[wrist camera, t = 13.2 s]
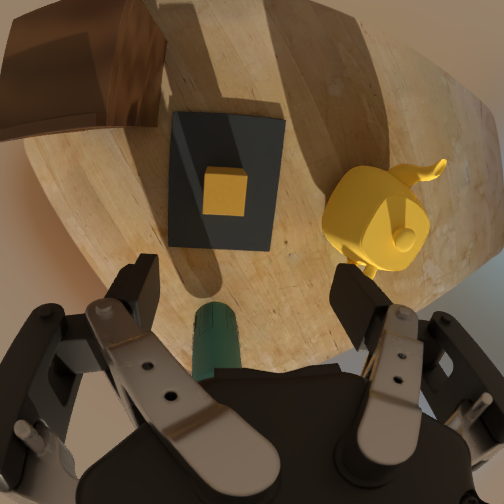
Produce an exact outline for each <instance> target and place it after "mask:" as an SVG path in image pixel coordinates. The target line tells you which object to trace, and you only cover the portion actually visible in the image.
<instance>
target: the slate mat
mask: <svg viewBox="0 0 504 504" xmlns="http://www.w3.org/2000/svg"><path fill="white" fill-rule="evenodd" d="M285 124H286V120H281V119H274V118H266V117H257V116H247V115H236V114H223V113H204V112H173V120H172V133H171V148H170V168H169V200H168V246H169V247H186V248H207V249H228V250H249V251H270V243H271V236H272V228H273V221H274V213H275V206H276V198H277V190H278V182H279V174H280V166H281V158H282V149H283V141H284V132H285ZM207 166H212V167H229V168H243V169H244V171H245V173H246V174H247V176H248V177H247V187H246V197H245V208H244V216H233V215H215V214H203V194H204V177H205V171H206V169H207Z"/></svg>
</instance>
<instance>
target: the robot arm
mask: <svg viewBox="0 0 504 504" xmlns="http://www.w3.org/2000/svg"><path fill="white" fill-rule="evenodd" d="M159 298H160V277H159V258H158V255H157V254H143V253H141V254H140V255H139V257H138V259H137V261H136V263H135V264H128V265H126V266H125V267H123V268H122V269H121V270H120V271H119V273H118V275H117V277H116V278H115V280H114V283H112V285H111V287H110V288H109V290H108V292H107V294H106V295H105V297H104V298H102V299H98V300H96V301H93V302H92V303H90V304H89V305H88V306H87V308H86V311H85V312H86V313H84V314H76V315H67V316H65V312H64V309H63V308H62V306H60V305H58V304H55V303H48V304H44V305H41V306H39V307H37V308H36V309H34V310H33V311H32V313H31V314H30V316H29V317H28V319H27V320H26V322H25V323H24V325H23V326H22V328H21V330H20V331H19V333H18V334H17V336H16V338H15V339H14V341H13V343H12V344H11V346H10V348H9V350H8V351H7V353H6V355H5V356H4V358H3V360H2V362H1V364H0V492H1V493H2V494H4V495H5V496H7V497H8V498H10V499H12V500H13V501H15V502H17V503H19V504H488V503H486V502H484V501H482V500H481V499H480V498H479V497H478V495H477V493H476V491H475V487H474V483H473V477H472V472H473V471H476V470H477V469H478V468H480V467H481V466H482V465H483V464H485V463H486V462H487V461H488V460H490V459H491V458H492V457H493V456H494V455H495V454H497V453H498V452H499V451H500V450H501V449H502V448H503V447H504V377H503V376H502V375H501V373H500V372H499V371H498V369H497V368H496V367H495V365H494V364H493V363H492V362H491V360H490V359H489V358H488V357H487V355H486V354H485V353H484V352H483V350H482V349H481V348H480V347H479V346H478V344H477V343H476V342H475V341H474V339H473V338H472V337H471V336H470V335H469V334H468V333H467V331H466V330H465V329H464V328H463V327H462V326H461V324H460V323H459V322H458V321H457V320H456V319H455V318H454V317H453V316H451V315H450V314H448V313H445V312H442V311H436V312H434V313H433V315H432V317H431V319H430V321H426V320H419V319H418V316H417V314H416V313H415V312H414V311H413V310H412V309H410V308H408V307H406V306H404V305H400V304H393V303H392V302H391V300H390V299H389V298H388V297H387V296H386V295H385V294H384V292H382V290H381V289H380V288H379V287H377V284H376V283H375V282H374V281H373V280H372V279H371V278H369V277H367V276H366V275H364V274H363V272H362V271H361V270H360V269H359V268H358V267H357V266H356V265H355V264H346V263H339V264H338V265H337V268H336V271H335V275H334V279H333V283H332V286H331V290H330V295H329V301H330V305H331V307H332V309H333V310H334V312H335V314H336V315H337V317H338V319H339V321H340V322H341V324H342V326H343V328H344V329H345V331H346V333H347V335H348V336H349V338H350V340H351V342H352V344H353V345H354V347H355V349H356V351H357V352H361V351H369V354H368V356H367V358H366V361H365V363H364V366H363V370H362V372H361V375H360V376H358V375H355V374H352V373H347V372H342V371H341V369H340V367H339V365H338V363H334V364H324V365H311V366H307V367H304V368H300V369H296V370H293V371H289V372H285V373H273V372H267V371H261V370H255V369H249V368H214V377H211V378H207V379H203V380H200V381H197V382H196V380H195V379H194V378H193V377H192V376H191V375H190V374H189V373H188V372H187V371H186V370H185V369H184V367H183V366H182V365H181V364H180V363H179V362H178V361H177V360H176V359H175V357H174V356H173V355H172V354H171V353H170V352H169V350H168V349H167V348H166V347H165V346H164V345H163V343H162V342H161V341H160V340H159V339H158V337H157V336H156V335H155V334H154V333H153V332H152V331H151V328H152V324H153V320H154V316H155V313H156V309H157V306H158V302H159ZM445 351H446V353H447V354H448V355H449V357H450V358H451V359H452V361H453V365H454V367H453V371H452V373H451V375H450V376H449V378H448V377H447V375H446V374H445V372H444V371H443V369H442V368H441V366H440V365H439V361H440V360H441V358H442V356H443V354H444V353H445ZM96 371H103V372H104V374H105V376H106V378H107V379H108V381H109V383H110V385H111V387H112V389H113V390H114V392H115V394H116V396H117V397H118V399H119V401H120V402H121V404H122V406H123V407H124V409H125V411H126V413H127V415H128V417H129V419H130V421H131V422H132V424H133V426H134V427H135V429H136V430H135V431H134V432H133V433H131V434H130V435H129V436H128V437H126V438H125V439H124V440H123V441H122V442H120V443H119V444H118V445H117V446H115V447H114V448H113V449H112V450H110V451H109V452H108V453H107V454H106V455H104V456H103V457H102V458H101V459H100V460H98V461H97V462H96V463H94V464H93V465H91V467H89V468H88V469H87V470H86V471H85V472H84V474H83V475H82V476H81V478H80V479H78V478H77V476H76V475H75V462H74V458H73V455H72V454H71V452H70V451H69V450H68V449H67V448H66V446H65V445H64V443H65V438H66V434H67V430H68V426H69V422H70V418H71V414H72V410H73V406H74V403H75V399H76V396H77V392H78V389H79V386H80V382H81V379H82V376H83V373H87V372H96ZM420 389H421V391H422V393H423V395H424V396H425V398H426V400H427V402H428V404H429V405H430V407H431V409H432V411H433V413H434V415H435V417H436V419H437V420H436V419H434V418H432V417H430V416H429V415H427V414H425V413H423V412H422V410H421V408H420V407H419V406H418V402H419V394H420Z"/></svg>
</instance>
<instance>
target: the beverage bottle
mask: <svg viewBox="0 0 504 504" xmlns="http://www.w3.org/2000/svg"><path fill="white" fill-rule="evenodd" d="M234 313H235V312H233V310H232V309H231V308H230V307H229V306H228V305H226V304H224V303H220V302H210V303H207V304H204V305H203V306H201V307H200V308H199V309H198V310H197V313H196V315H194V316H195V323H193V325H194V330H193V331H194V334H193V335H194V338H192V340H193V342H192V344H193V356H192V377H193V378H194V379H195V380H196V382H197V381H200V380H203V379H207V378H211V377H214V368H242V366H241V357H240V347H239V339H238V334H239V331H238V332H237V327H238V324H237V323H236V318H237V317H235V314H234Z"/></svg>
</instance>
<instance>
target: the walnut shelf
mask: <svg viewBox="0 0 504 504" xmlns="http://www.w3.org/2000/svg"><path fill="white" fill-rule="evenodd" d="M166 46H167V40H166V38H165V37H164V35H163V34H162V32H161V30H160V29H159V27H158V26H157V24H156V22H155V21H154V19H153V18H152V16H151V14H150V13H149V11H148V10H147V8H146V7H145V5H144V3H143V2H142V0H61V1H58V2H55V3H52V4H50V5H47V6H44V7H41V8H39V9H36V10H34V11H32V12H29V13H27V14H25V15H22V16H20V17H18V18H16V19H14V20H13V22H12V26H11V29H10V33H9V37H8V40H7V44H6V49H5V53H4V58H3V63H2V69H1V74H0V142H5V141H11V140H16V139H22V138H28V137H35V136H42V135H50V134H59V133H69V132H79V131H85V130H92V129H105V128H121V127H157V123H158V110H159V100H160V90H161V81H162V73H163V66H164V59H165V52H166Z"/></svg>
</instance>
